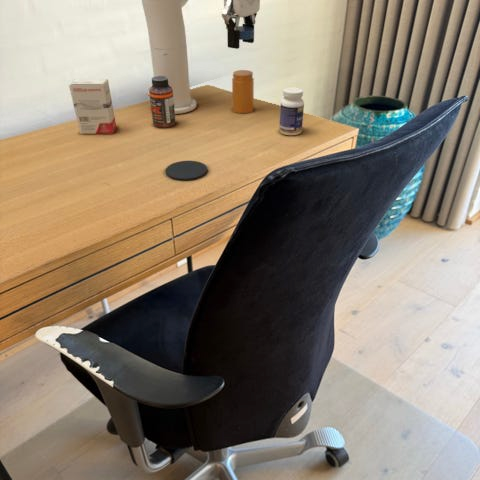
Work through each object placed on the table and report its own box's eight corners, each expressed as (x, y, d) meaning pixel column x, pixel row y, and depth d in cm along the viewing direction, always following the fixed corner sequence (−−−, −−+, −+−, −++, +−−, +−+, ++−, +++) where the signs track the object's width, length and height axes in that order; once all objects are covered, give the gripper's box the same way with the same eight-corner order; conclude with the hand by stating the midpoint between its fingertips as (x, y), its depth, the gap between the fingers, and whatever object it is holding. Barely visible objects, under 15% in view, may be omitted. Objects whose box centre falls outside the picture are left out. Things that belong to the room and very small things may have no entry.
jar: (228, 111, 132) (227, 73, 125) (239, 105, 136) (239, 68, 129) (246, 114, 130) (246, 77, 123) (257, 108, 133) (257, 71, 127)
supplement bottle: (148, 125, 124) (142, 79, 116) (162, 118, 128) (157, 73, 120) (166, 130, 122) (161, 82, 114) (180, 122, 125) (176, 76, 118)
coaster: (157, 174, 102) (157, 172, 102) (182, 159, 108) (182, 157, 108) (191, 184, 99) (190, 182, 98) (215, 168, 104) (215, 166, 104)
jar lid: (258, 38, 119) (258, 30, 118) (235, 40, 117) (236, 32, 116) (245, 33, 124) (246, 25, 122) (223, 35, 121) (223, 27, 120)
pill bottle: (300, 136, 117) (303, 94, 111) (277, 135, 118) (279, 92, 112) (302, 128, 122) (306, 86, 115) (280, 127, 123) (282, 85, 116)
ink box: (117, 126, 124) (108, 77, 116) (113, 133, 120) (103, 83, 112) (84, 127, 124) (73, 78, 116) (79, 134, 120) (67, 84, 112)
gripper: (235, -39, 103) (235, 54, 115) (273, -45, 114) (269, 40, 126) (206, -41, 105) (209, 50, 117) (246, -47, 116) (245, 36, 128)
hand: (240, 44), depth 121 cm, fingers closed on jar lid, 6 cm apart
